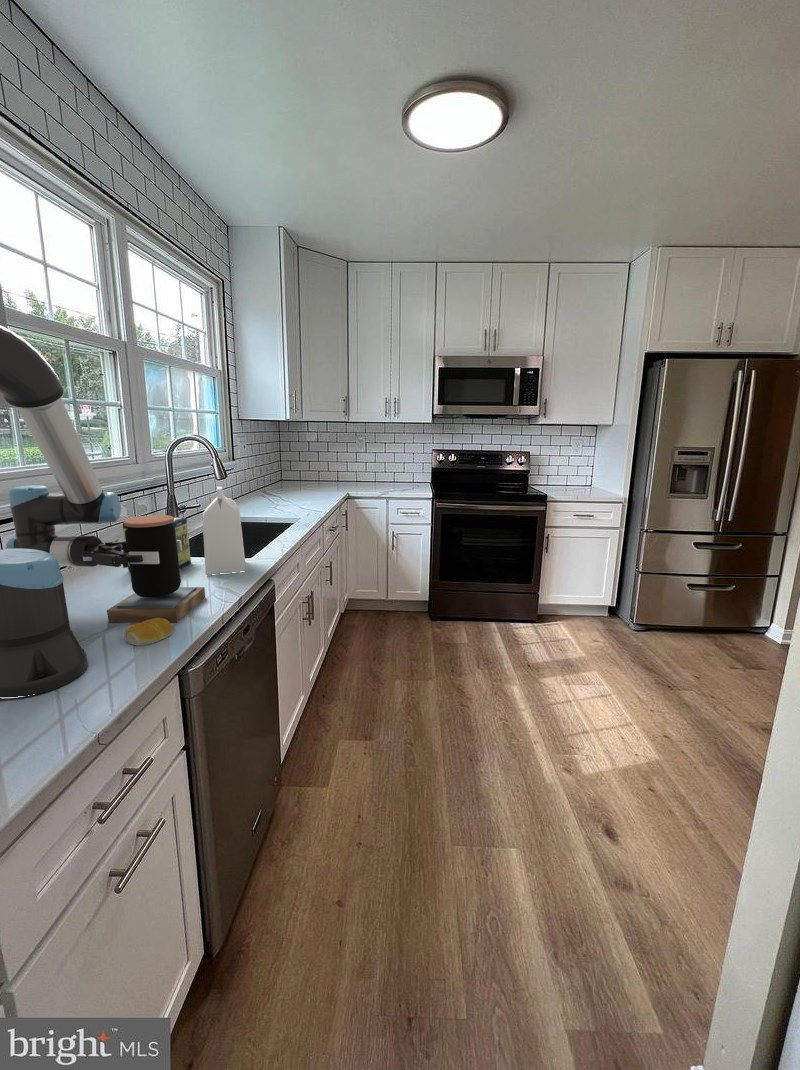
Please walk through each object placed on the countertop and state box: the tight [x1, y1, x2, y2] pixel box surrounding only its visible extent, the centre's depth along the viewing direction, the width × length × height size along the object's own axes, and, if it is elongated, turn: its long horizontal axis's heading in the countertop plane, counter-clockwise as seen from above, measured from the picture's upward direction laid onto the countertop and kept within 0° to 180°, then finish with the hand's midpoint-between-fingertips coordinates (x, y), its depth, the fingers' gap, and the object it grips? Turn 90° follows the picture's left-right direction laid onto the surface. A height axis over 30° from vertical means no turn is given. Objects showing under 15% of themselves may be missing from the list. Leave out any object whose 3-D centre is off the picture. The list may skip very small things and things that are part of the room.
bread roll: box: [124, 618, 173, 647], centre depth 101 cm, size 8×9×4 cm
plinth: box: [106, 586, 206, 624], centre depth 116 cm, size 16×16×4 cm
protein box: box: [122, 517, 192, 572], centre depth 149 cm, size 10×16×16 cm
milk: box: [202, 486, 246, 576], centre depth 146 cm, size 12×12×26 cm
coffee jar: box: [122, 514, 182, 597], centre depth 113 cm, size 11×11×18 cm
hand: (170, 551), depth 112 cm, fingers closed on coffee jar, 10 cm apart
